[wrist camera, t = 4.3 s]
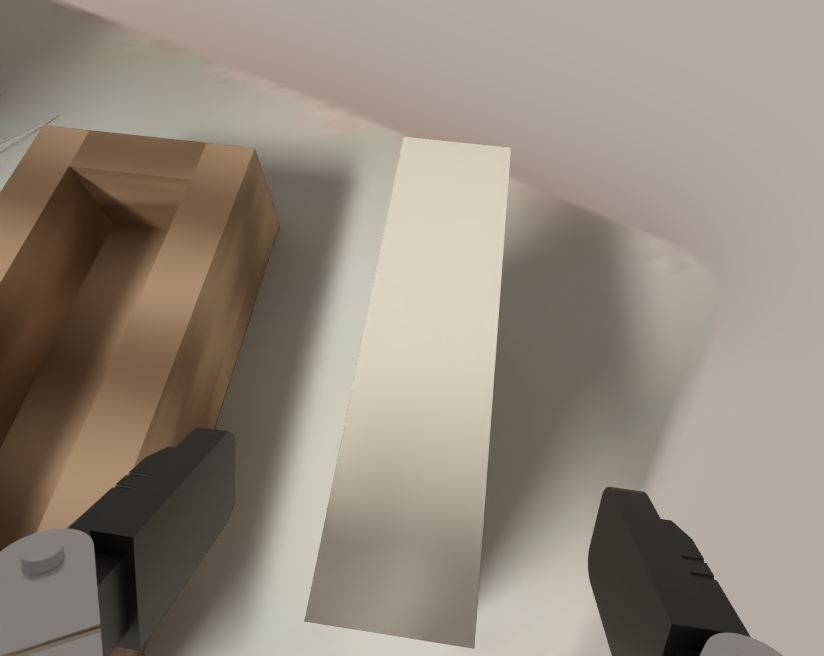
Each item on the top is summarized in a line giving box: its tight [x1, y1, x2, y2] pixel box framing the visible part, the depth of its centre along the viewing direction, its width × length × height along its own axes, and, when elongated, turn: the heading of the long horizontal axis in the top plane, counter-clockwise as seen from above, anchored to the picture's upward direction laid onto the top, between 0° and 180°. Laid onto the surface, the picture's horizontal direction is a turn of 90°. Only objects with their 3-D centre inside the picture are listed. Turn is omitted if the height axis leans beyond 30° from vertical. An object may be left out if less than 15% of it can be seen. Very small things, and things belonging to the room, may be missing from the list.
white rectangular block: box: [305, 137, 511, 648], centre depth 17 cm, size 12×3×10 cm, turn 172°
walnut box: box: [0, 126, 280, 656], centre depth 20 cm, size 20×9×5 cm, turn 172°
